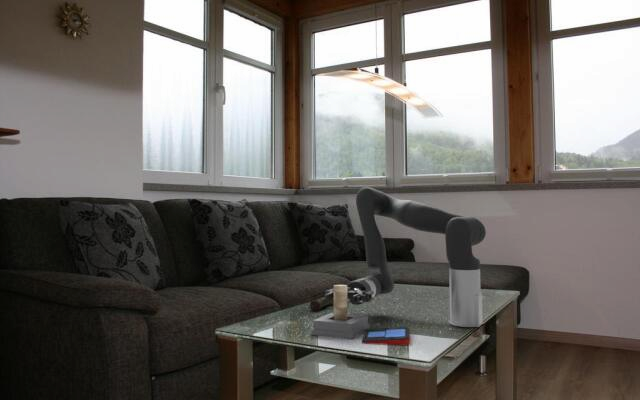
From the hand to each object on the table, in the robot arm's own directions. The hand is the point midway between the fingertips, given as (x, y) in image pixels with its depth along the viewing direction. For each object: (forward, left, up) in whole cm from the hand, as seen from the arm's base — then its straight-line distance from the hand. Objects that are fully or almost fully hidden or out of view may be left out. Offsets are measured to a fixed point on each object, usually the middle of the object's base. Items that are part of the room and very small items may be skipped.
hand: (340, 298), depth 153 cm
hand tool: (+23, -36, -10) cm, 44 cm away
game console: (-14, +1, -10) cm, 18 cm away
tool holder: (0, 0, -10) cm, 10 cm away
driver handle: (0, -1, -8) cm, 8 cm away
